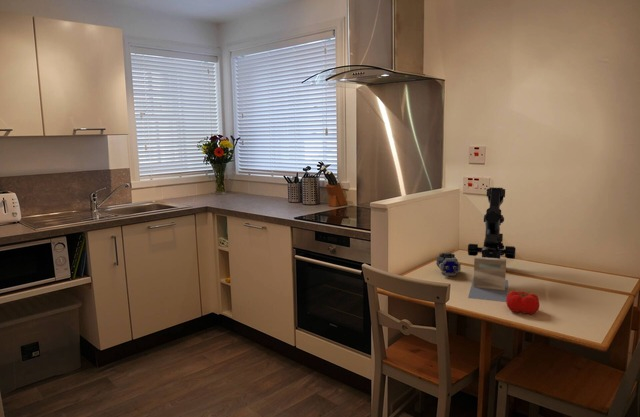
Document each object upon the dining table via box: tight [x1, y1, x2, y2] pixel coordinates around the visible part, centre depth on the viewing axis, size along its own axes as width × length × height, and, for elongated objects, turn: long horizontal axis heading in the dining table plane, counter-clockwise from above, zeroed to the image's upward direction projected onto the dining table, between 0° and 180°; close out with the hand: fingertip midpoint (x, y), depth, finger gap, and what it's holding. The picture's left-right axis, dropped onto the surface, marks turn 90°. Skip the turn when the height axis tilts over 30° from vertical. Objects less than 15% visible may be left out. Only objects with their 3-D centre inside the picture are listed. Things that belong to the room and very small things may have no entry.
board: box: [473, 256, 507, 290], centre depth 190 cm, size 3×12×12 cm, turn 68°
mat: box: [467, 277, 509, 303], centre depth 190 cm, size 28×14×1 cm, turn 158°
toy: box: [435, 252, 462, 277], centre depth 211 cm, size 9×9×15 cm
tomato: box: [505, 290, 540, 315], centre depth 166 cm, size 10×11×6 cm
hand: (490, 268), depth 193 cm, fingers closed
